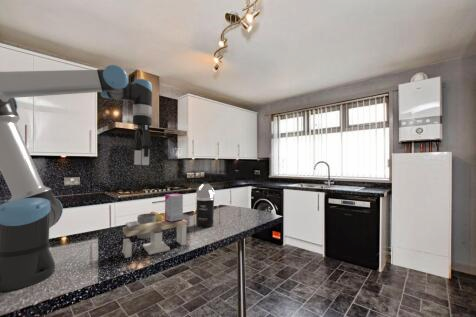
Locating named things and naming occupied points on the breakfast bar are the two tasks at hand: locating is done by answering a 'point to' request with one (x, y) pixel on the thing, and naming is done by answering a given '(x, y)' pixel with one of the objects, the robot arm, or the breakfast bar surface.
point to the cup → (144, 220)
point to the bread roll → (159, 216)
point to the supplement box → (173, 207)
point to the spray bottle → (205, 205)
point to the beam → (150, 227)
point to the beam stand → (155, 242)
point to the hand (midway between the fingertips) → (141, 164)
